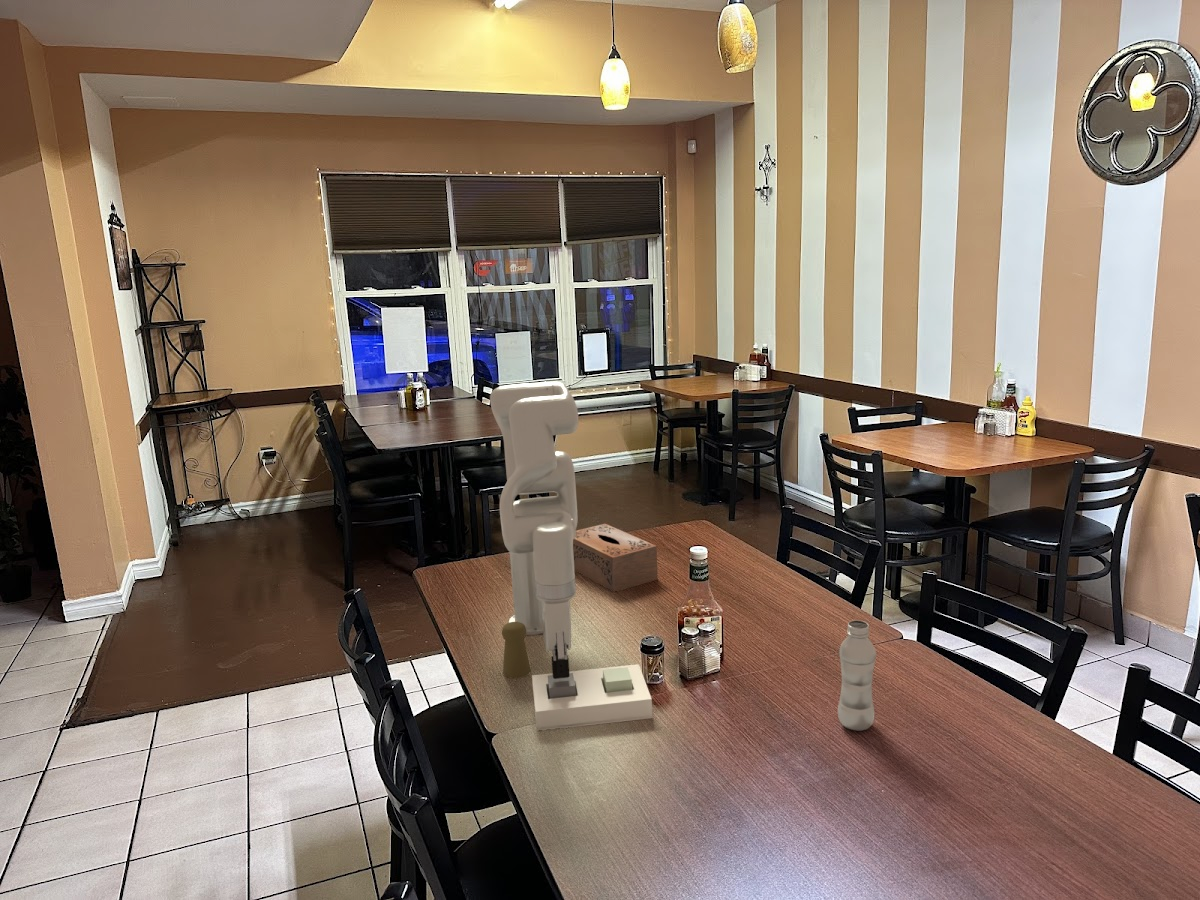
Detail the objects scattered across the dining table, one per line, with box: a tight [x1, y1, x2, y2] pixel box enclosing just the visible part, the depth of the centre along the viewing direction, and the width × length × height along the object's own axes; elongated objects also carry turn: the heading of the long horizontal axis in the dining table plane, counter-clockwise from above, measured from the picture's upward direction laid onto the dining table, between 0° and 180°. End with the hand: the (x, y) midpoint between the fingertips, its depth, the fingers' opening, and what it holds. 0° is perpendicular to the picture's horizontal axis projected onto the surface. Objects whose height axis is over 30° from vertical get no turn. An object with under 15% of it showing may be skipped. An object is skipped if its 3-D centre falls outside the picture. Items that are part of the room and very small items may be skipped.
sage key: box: [603, 667, 632, 693], centre depth 157 cm, size 5×5×3 cm
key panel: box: [531, 663, 653, 732], centre depth 157 cm, size 14×22×4 cm, turn 97°
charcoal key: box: [548, 673, 576, 699], centre depth 156 cm, size 5×5×3 cm
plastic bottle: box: [837, 619, 877, 732], centre depth 145 cm, size 6×7×20 cm
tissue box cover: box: [573, 523, 659, 593], centre depth 226 cm, size 26×14×10 cm, turn 33°
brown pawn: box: [501, 622, 532, 679], centre depth 171 cm, size 6×6×11 cm
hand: (561, 676), depth 155 cm, fingers closed
